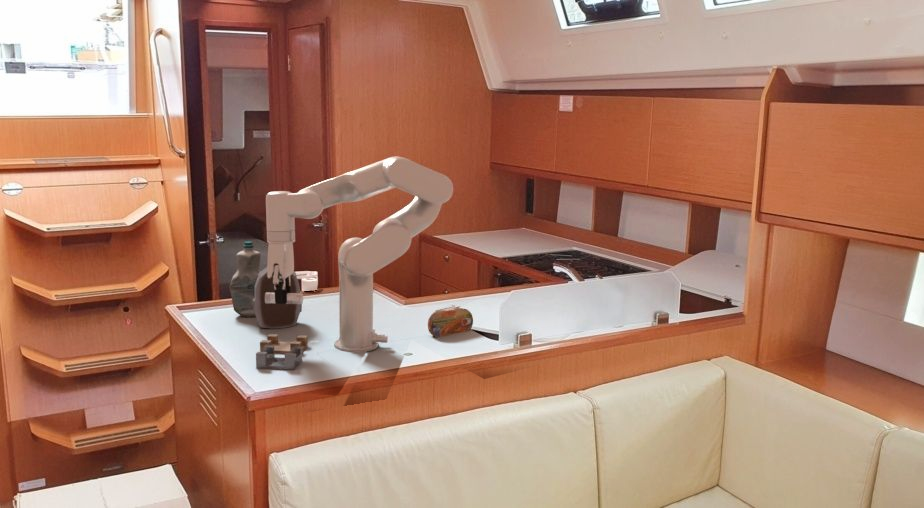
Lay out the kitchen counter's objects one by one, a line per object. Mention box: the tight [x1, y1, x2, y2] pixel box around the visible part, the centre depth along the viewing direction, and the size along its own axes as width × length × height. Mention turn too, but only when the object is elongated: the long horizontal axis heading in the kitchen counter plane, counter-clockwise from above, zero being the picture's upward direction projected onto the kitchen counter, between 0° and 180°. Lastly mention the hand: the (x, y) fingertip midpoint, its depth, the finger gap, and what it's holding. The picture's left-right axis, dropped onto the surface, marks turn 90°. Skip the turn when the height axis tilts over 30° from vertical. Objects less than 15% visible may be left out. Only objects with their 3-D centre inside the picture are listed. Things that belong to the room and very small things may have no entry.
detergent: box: [229, 240, 262, 318], centre depth 245 cm, size 13×7×25 cm, turn 112°
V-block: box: [255, 345, 303, 371], centre depth 199 cm, size 10×7×4 cm
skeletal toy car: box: [294, 270, 319, 292], centre depth 283 cm, size 20×11×7 cm, turn 114°
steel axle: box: [265, 292, 304, 305], centre depth 211 cm, size 10×3×3 cm, turn 86°
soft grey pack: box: [253, 266, 303, 330], centre depth 235 cm, size 15×8×20 cm, turn 109°
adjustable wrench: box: [434, 304, 461, 312], centre depth 256 cm, size 25×6×2 cm, turn 155°
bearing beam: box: [259, 333, 309, 355], centre depth 213 cm, size 11×8×3 cm
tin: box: [427, 307, 474, 338], centre depth 230 cm, size 15×3×8 cm, turn 123°
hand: (283, 301), depth 211 cm, fingers closed on steel axle, 3 cm apart
